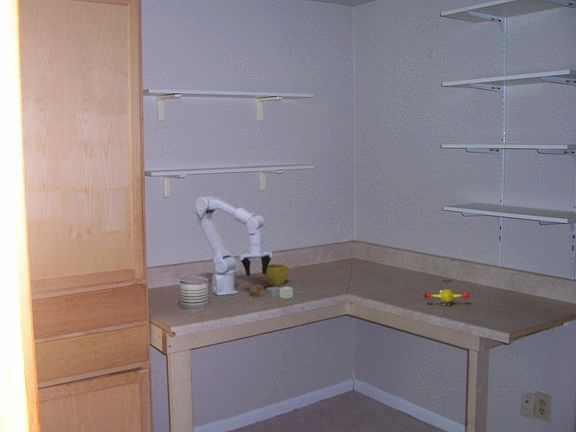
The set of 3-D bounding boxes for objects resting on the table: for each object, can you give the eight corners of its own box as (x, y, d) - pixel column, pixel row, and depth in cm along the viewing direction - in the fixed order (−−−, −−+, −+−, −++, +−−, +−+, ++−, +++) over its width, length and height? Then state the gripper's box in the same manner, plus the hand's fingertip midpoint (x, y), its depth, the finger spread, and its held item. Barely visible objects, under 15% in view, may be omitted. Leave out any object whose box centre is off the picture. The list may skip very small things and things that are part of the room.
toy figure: (466, 303, 258) (467, 287, 257) (470, 307, 253) (470, 290, 252) (422, 304, 258) (422, 287, 257) (425, 307, 253) (425, 290, 252)
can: (194, 302, 263) (193, 274, 262) (214, 306, 257) (213, 277, 256) (174, 308, 254) (173, 279, 253) (195, 312, 248) (194, 282, 246)
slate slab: (272, 297, 272) (272, 290, 272) (265, 294, 277) (265, 288, 277) (284, 295, 275) (284, 289, 274) (277, 293, 280) (277, 286, 280)
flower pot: (277, 287, 289) (276, 268, 288) (262, 285, 294) (262, 266, 293) (288, 284, 296) (288, 265, 295) (274, 282, 301) (273, 263, 300)
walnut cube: (253, 297, 271) (253, 287, 270) (249, 295, 275) (249, 285, 274) (263, 296, 273) (263, 286, 272) (258, 294, 277) (258, 284, 276)
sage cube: (286, 298, 269) (286, 289, 269) (279, 297, 272) (279, 288, 271) (292, 297, 272) (292, 288, 271) (286, 295, 275) (286, 286, 274)
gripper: (244, 246, 264) (244, 278, 266) (274, 243, 271) (275, 274, 273) (237, 243, 271) (237, 275, 272) (267, 241, 277) (268, 271, 279)
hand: (256, 274), depth 273 cm, fingers open, 7 cm apart
